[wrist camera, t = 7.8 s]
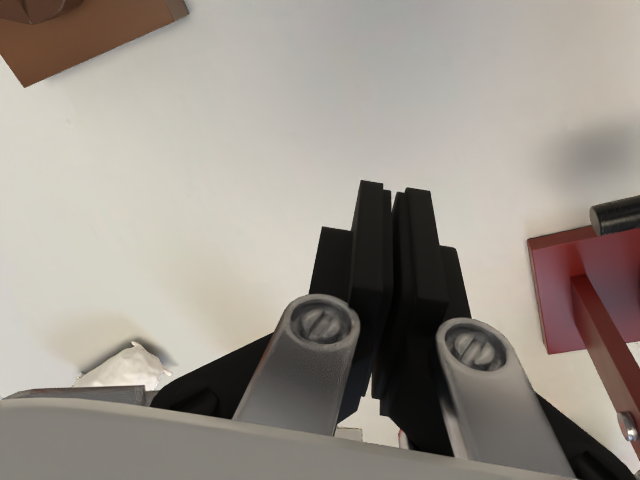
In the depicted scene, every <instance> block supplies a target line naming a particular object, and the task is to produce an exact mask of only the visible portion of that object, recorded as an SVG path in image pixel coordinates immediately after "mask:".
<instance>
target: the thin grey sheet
mask: <svg viewBox="0 0 640 480" xmlns="http://www.w3.org/2000/svg"><path fill="white" fill-rule="evenodd" d="M334 437H337V438H343V439H349V440H355V441H361V442H363V441H362V429H343V428H336V432H335V436H334Z"/></svg>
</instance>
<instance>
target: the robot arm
mask: <svg viewBox="0 0 640 480" xmlns="http://www.w3.org/2000/svg"><path fill="white" fill-rule="evenodd" d="M371 373H372V389H371V395H372V398H374V399H380V415H382V416H388V417H390V418H391V420H392V421H393V422H394V423H395V424H396V425H397V426H398V427H399V428H400V431H399V433H398V437H399V448H396V447H390V446H384V445H378V444H373V443H367V442H361V441H355V440H349V439H343V438H337V437H334V436H335V432H336V428H337V424H338V423H340V422H341V421H343V420H344V419H346V418H347V417H349V416H350V415H352V414H353V413H354V412H356V411H357V409H358V406H359V402H360V399H361V396H362V397H364V396H365V394H366V391H367V387H368V384H369V380H370V377H371ZM0 480H640V470H639V471H638V472H637V473H636V474H635V475H634V474H632V473H631V472H630V470H629V469H628V467H627V466H626V465H625V464H624V463H623V462H621V461H620V460H619V459H618V458H617V457H616V456H615V455H614V454H613V453H612V452H610V451H609V450H608V449H606V448H605V447H604V446H603V445H601V444H600V443H599V442H598V441H596V440H595V439H594V438H593V437H591V436H590V435H589V434H588V433H586V432H585V431H584V430H583V429H581V428H580V427H579V426H578V425H576V424H575V423H574V422H572V421H571V420H570V419H569V418H567V417H566V416H565V415H564V414H562V413H561V412H560V411H559V410H557V409H556V408H555V407H554V406H552V405H551V404H550V403H549V402H547V401H546V400H545V399H544V398H542V397H541V396H540V395H538V394H537V393H536V392H535V391H534V390H533V388H532V386H531V384H530V382H529V379H528V377H527V375H526V373H525V371H524V369H523V367H522V365H521V363H520V361H519V359H518V357H517V355H516V353H515V351H514V348H513V347H512V345H511V344H510V342H509V341H508V339H507V338H506V337H505V336H504V335H502V334H501V333H500V332H499V331H498V330H496V329H495V328H493V327H492V326H490V325H488V324H486V323H484V322H481V321H478V320H476V319H472V318H471V313H470V309H469V304H468V300H467V295H466V291H465V286H464V281H463V277H462V272H461V268H460V263H459V259H458V254H457V251H456V249H455V248H453V247H447V246H441V245H439V239H438V234H437V228H436V222H435V216H434V210H433V205H432V199H431V193H430V191H427V190H421V189H414V188H408V187H407V188H406V190H405V193H402V192H397V194H396V197H395V201H394V205H393V209H392V211H391V191H389V190H383V183H376V182H370V181H364V180H361V181H360V186H359V191H358V196H357V202H356V207H355V212H354V217H353V223H352V228H351V231H348V230H342V229H335V228H329V227H323V226H322V229H321V234H320V239H319V244H318V249H317V254H316V259H315V264H314V269H313V274H312V279H311V284H310V289H309V294H308V295H305V296H302V297H298V298H297V299H295V300H294V301H292V302H291V303H290V304H289V305H288V306H287V308H286V309H285V310H284V312H283V314H282V316H281V318H280V321H279V323H278V325H277V327H276V329H275V331H274V332H273V333H271V334H269V335H267V336H264V337H262V338H260V339H258V340H256V341H254V342H252V343H250V344H248V345H246V346H244V347H242V348H240V349H238V350H235V351H233V352H231V353H229V354H227V355H225V356H223V357H221V358H219V359H217V360H215V361H213V362H211V363H208V364H206V365H204V366H202V367H200V368H198V369H196V370H194V371H192V372H190V373H188V374H186V375H184V376H182V377H179V378H177V379H175V380H174V381H172V382H171V383H169V384H167V385H166V386H164V387H163V388H162V389H161V390H159V391H146V389H145V385H130V386H102V387H73V388H45V389H31V390H25V391H20V392H17V393H14V394H12V395H10V396H8V397H6V398H3V399H1V400H0Z"/></svg>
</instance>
